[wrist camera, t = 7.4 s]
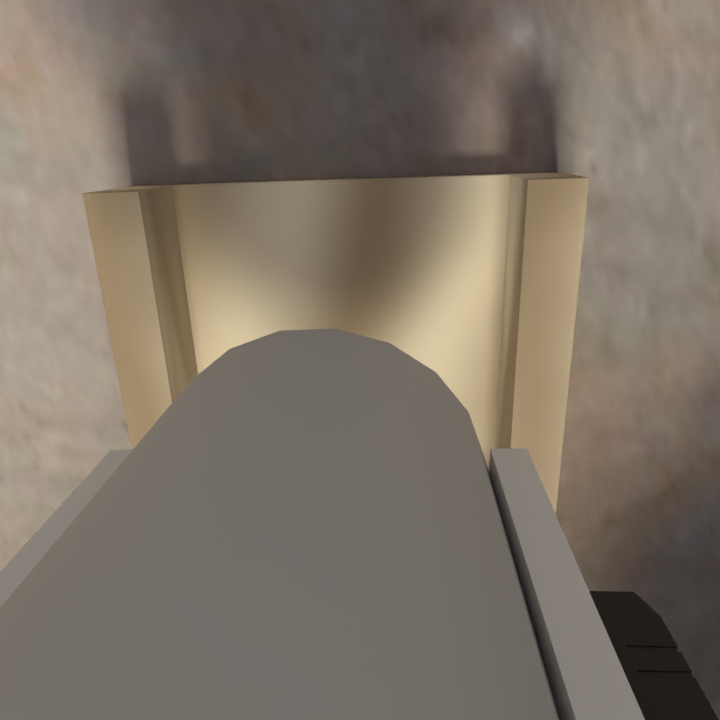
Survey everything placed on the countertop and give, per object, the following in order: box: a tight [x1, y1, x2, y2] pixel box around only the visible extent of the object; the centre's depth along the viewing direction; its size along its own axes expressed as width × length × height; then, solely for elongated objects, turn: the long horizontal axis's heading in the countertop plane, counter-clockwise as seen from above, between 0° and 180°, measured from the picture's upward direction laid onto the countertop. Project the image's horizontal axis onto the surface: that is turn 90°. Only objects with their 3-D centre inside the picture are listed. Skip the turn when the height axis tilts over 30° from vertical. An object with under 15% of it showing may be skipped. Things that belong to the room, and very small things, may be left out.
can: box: [0, 329, 561, 720], centre depth 9 cm, size 8×8×12 cm
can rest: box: [83, 172, 589, 514], centre depth 18 cm, size 13×13×3 cm
